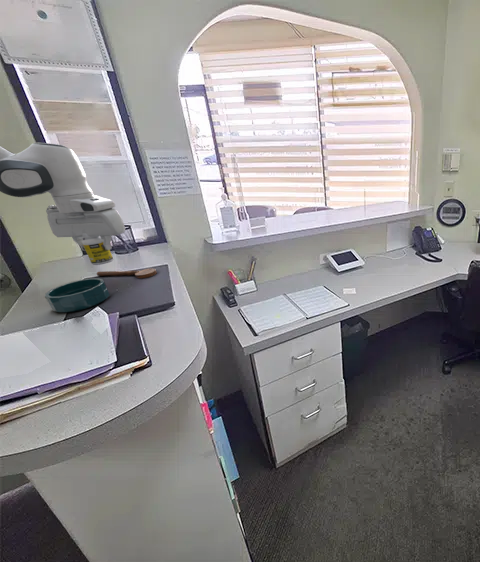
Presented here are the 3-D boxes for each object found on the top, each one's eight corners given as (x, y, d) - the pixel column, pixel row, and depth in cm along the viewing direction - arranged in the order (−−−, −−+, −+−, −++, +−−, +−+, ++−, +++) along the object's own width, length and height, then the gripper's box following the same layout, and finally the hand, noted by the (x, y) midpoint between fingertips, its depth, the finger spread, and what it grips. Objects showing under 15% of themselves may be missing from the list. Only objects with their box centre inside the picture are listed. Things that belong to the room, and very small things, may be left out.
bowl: (41, 314, 84) (31, 298, 81) (82, 293, 95) (75, 278, 93) (83, 313, 83) (75, 297, 81) (120, 292, 94) (114, 277, 92)
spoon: (90, 279, 105) (88, 275, 104) (105, 272, 111) (103, 268, 110) (148, 278, 104) (147, 273, 103) (160, 271, 109) (159, 267, 108)
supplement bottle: (96, 266, 93) (81, 235, 89) (89, 263, 96) (74, 233, 91) (117, 260, 97) (104, 230, 93) (110, 258, 100) (97, 228, 96)
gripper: (32, 207, 86) (56, 254, 92) (100, 205, 85) (120, 252, 91) (54, 203, 92) (75, 247, 98) (119, 200, 91) (136, 245, 97)
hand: (97, 249), depth 94 cm, fingers closed on supplement bottle, 5 cm apart
